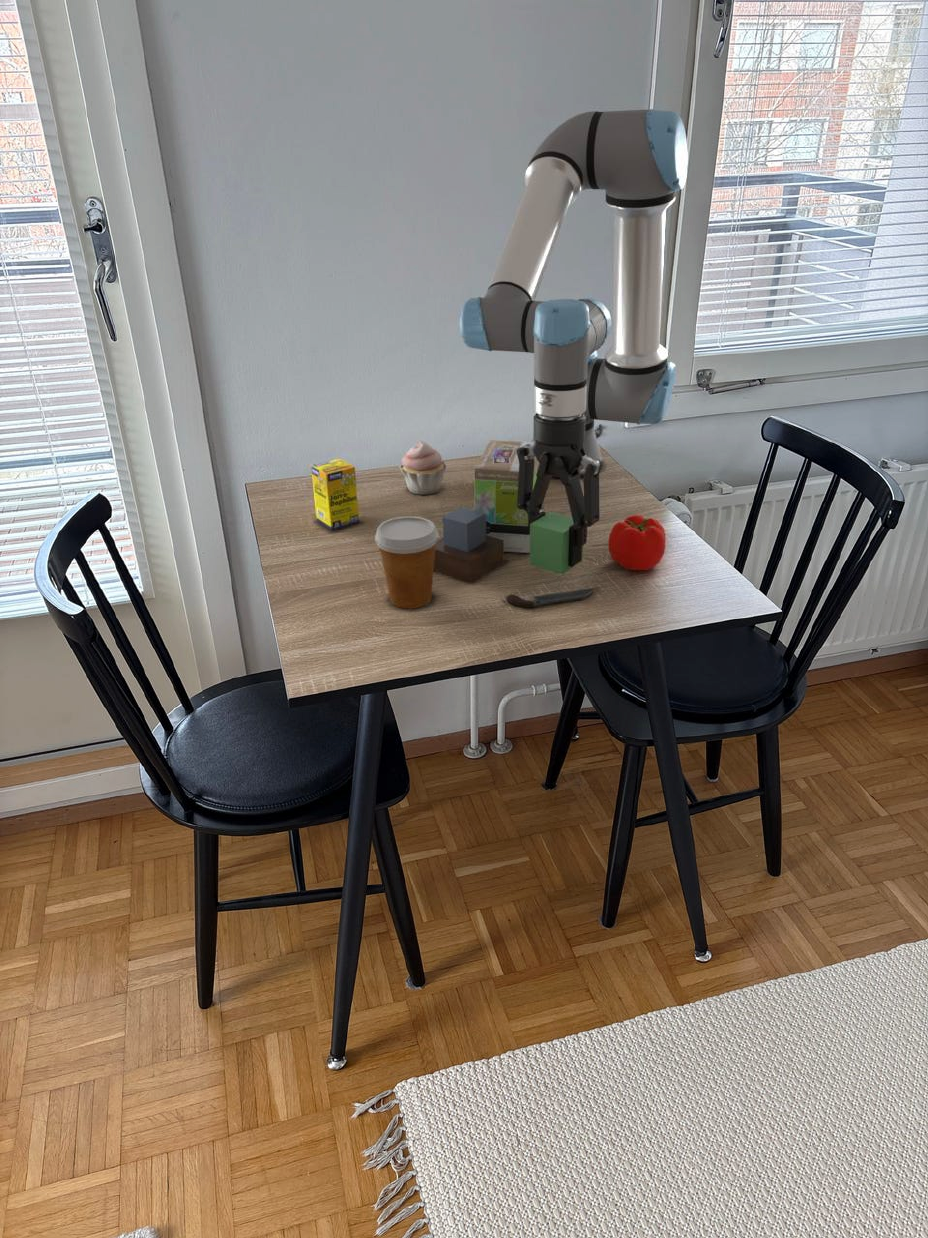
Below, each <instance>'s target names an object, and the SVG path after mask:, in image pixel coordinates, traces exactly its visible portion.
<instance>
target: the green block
mask: <svg viewBox="0 0 928 1238" xmlns="http://www.w3.org/2000/svg"><path fill="white" fill-rule="evenodd" d="M573 524H574V523H573V519H572V515H566V514H563V513H560V512H555V511H549V512H548V513H546V515H545V516H543V517H541V518H540V519H538V520H536V521H535V522H533V523H531V524H530V552H529V565H530V566H531V567H535V568H539V569H542V570H546V571H548V572H552V573H556V574H558V575H564V574H565V573H566V572H568V571H570V570H571V569H573V568H574V567H575V566H577V565H578V564H579V563H581V562H582V561H583V557H582V558H581V561H580V562H579V563H577V564H576V565H574V566H573V567H571V566H568V557H569V527H570V526H572V525H573ZM583 551H584V545H583V546H582V556H583V555H584V554H583V553H584V552H583Z"/></svg>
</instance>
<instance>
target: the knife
mask: <svg viewBox="0 0 928 1238" xmlns="http://www.w3.org/2000/svg"><path fill="white" fill-rule="evenodd" d="M595 590H596V587H595V586H593V587H588V588H580V589H573V590H566V591H559V592H555V593H554V592H553V593H547V594H540V595H534V597H533V598H534V600H530V599H528V600H527V599H524V598H522V597H520V596H519V595H516V594H508V595H507V596H506V600H507V602H508V603H510V604H512V605H515V606H518V607H522V608H534V607H540V606H545V605H549V604H555V603H562V602H568V601H576V600H582V599H586V597H588V596H589V595H591V594H592V593H593V592H594V591H595Z"/></svg>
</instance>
